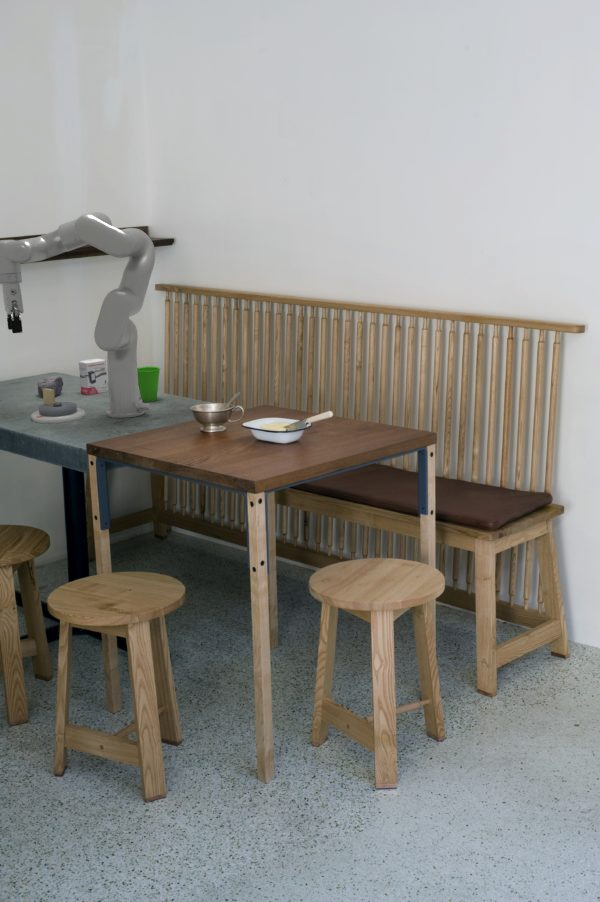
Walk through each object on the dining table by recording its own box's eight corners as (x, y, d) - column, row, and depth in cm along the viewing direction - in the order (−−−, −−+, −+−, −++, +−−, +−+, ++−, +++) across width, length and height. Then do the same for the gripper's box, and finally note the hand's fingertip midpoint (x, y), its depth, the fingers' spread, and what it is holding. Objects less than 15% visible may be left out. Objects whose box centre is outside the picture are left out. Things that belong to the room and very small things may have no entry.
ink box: (88, 395, 391) (86, 362, 388) (80, 393, 394) (78, 361, 391) (108, 391, 396) (106, 359, 393) (100, 390, 400) (98, 358, 397)
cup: (167, 398, 381) (165, 367, 379) (150, 403, 374) (148, 372, 371) (147, 396, 386) (145, 365, 383) (130, 401, 379) (128, 369, 376)
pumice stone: (33, 403, 391) (52, 398, 385) (26, 382, 390) (45, 377, 384) (53, 397, 399) (72, 392, 393) (47, 377, 398) (66, 371, 392)
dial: (84, 410, 357) (82, 389, 356) (54, 417, 349) (52, 396, 347) (60, 406, 365) (58, 385, 363) (30, 412, 356) (28, 391, 355)
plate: (94, 412, 363) (93, 407, 362) (70, 424, 347) (69, 418, 347) (47, 410, 367) (47, 405, 367) (22, 422, 352) (21, 416, 351)
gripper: (25, 279, 351) (30, 333, 355) (17, 275, 366) (23, 326, 370) (1, 281, 348) (7, 335, 352) (-6, 277, 364) (0, 328, 368)
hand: (15, 331), depth 361 cm, fingers open, 9 cm apart
